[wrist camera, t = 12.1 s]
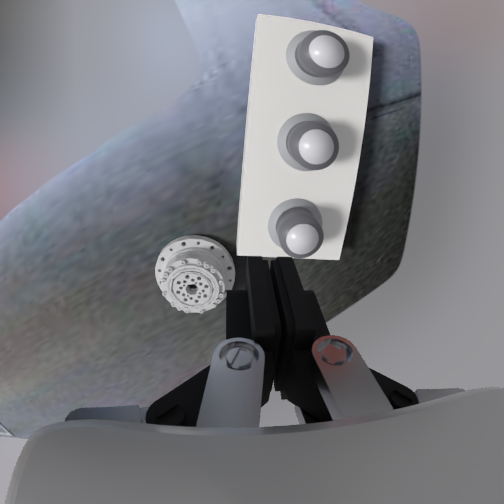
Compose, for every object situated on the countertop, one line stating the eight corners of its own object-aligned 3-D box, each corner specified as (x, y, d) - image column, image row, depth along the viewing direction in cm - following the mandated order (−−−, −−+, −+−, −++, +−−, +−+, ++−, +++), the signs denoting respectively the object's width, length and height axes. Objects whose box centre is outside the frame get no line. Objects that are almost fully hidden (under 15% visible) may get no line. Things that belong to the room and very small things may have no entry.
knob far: (278, 205, 31) (283, 216, 28) (319, 208, 31) (328, 220, 28) (273, 244, 33) (277, 258, 30) (312, 246, 33) (320, 260, 30)
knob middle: (288, 118, 27) (295, 119, 24) (331, 124, 27) (343, 127, 24) (283, 161, 29) (289, 168, 26) (325, 166, 29) (336, 173, 26)
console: (255, 21, 25) (258, 13, 22) (362, 41, 26) (374, 36, 23) (236, 243, 36) (237, 256, 33) (331, 248, 37) (339, 260, 35)
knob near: (296, 33, 23) (304, 25, 20) (340, 41, 23) (352, 35, 20) (292, 73, 25) (300, 69, 22) (336, 81, 25) (348, 78, 22)
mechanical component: (178, 219, 35) (145, 280, 38) (172, 234, 31) (137, 300, 34) (250, 258, 38) (210, 312, 41) (252, 277, 34) (209, 333, 37)
